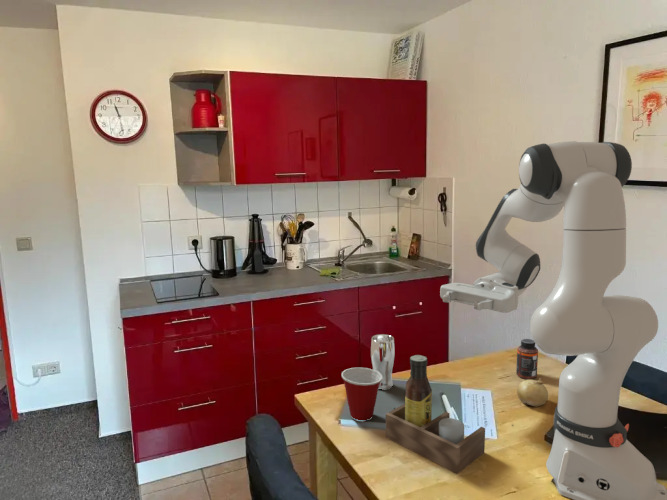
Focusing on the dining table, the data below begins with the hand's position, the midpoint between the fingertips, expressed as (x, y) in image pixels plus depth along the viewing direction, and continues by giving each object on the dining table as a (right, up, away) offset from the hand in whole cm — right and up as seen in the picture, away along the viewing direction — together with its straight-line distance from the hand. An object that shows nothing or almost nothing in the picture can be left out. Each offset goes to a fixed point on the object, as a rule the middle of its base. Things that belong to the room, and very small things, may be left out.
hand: (460, 302), depth 129 cm
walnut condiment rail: (-9, -33, -12) cm, 36 cm away
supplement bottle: (+27, -25, +25) cm, 45 cm away
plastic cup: (-25, -31, +4) cm, 40 cm away
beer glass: (-18, -27, +21) cm, 39 cm away
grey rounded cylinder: (-6, -32, -15) cm, 36 cm away
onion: (+22, -29, +9) cm, 37 cm away
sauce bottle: (-12, -31, -8) cm, 35 cm away
